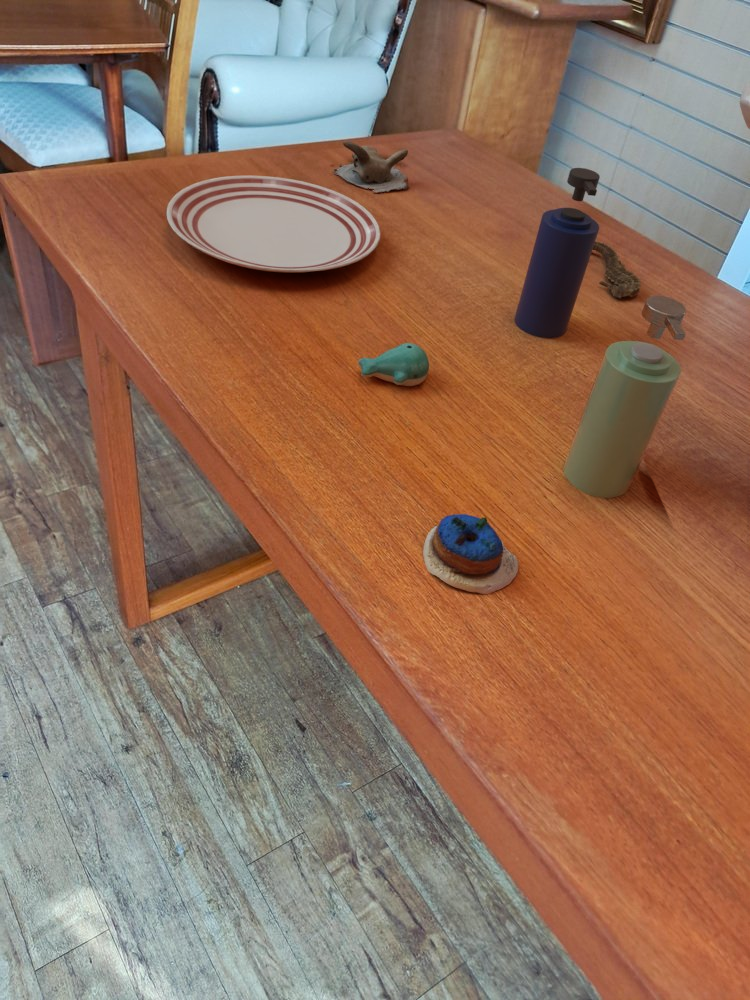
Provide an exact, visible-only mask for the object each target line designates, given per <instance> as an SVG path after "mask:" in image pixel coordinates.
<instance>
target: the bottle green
mask: <svg viewBox="0 0 750 1000" xmlns="http://www.w3.org/2000/svg"><path fill="white" fill-rule="evenodd" d="M681 369H682V368H681V366H680V364H679V362H678V361H677V359H675V357H674V356H673V355H671V354H670V353H668V352H667V351H666V350H664V349H663V348H661V347H659V346H657V345H655V344H653V343H649V342H645V341H640V340H620V341H616V342H613V343H611V344H610V345H609V346H608V347H607V348H606V350H605V352H604V355H603V358H602V360H601V363H600V366H599V370H598V372H597V373H596V377H595V380H594V382H593V385H592V388H591V390H590V392H589V393H590V394H589V395H588V399H587V401H586V404H585V407H584V409H583V412H582V414H581V418H580V420H579V423H578V426H577V428H576V431H575V434H574V436H573V438H572V441H571V444H570V447H569V450H568V453H567V455H566V458H565V460H564V463H563V466H562V467H563V468H562V469H563V474H564V477H565V478H566V480H567V481H568V482H569V483H570V484H571V485H572V486H573V487H574V488H576V489H577V490H578V491H580V492H582V493H584V494H586V495H589V496H592V497H595V498H600V499H614V498H619V497H621V496H623V495H624V494H626V493H627V492H628V490H629V489H630V486H631V484H632V482H633V480H634V477H635V475H636V472H637V471H638V468H639V466H640V464H641V462H642V460H643V458H644V455H645V453H646V451H647V450H648V447H649V445H650V442H651V440H652V438H653V436H654V433H655V431H656V429H657V427H658V424H659V422H660V420H661V418H662V416H663V414H664V411H665V410H666V407H667V404H668V403H669V400H670V398H671V396H672V393H673V392H674V389H675V387H676V385H677V383H678V380H679V378H680V376H681V374H682V373H681V372H682V370H681Z"/></svg>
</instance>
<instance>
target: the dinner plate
mask: <svg viewBox="0 0 750 1000" xmlns="http://www.w3.org/2000/svg"><path fill="white" fill-rule="evenodd" d="M166 218H167V222H168V224H169V226H170V228H171V229H172V231H173V232H174V233H175V234H176V235H177V236H178V237H179V238H180V239H182V240H183V241H184V242H185V243H187V244H188V245H190V246H191V247H193V248H195V249H196V250H198V251H199V252H202V253H204V254H206V255H208V256H210V257H212V258H214V259H217V260H220V261H223V262H225V263H229V264H231V265H235V266H239V267H242V268H247V269H251V270H257V271H264V272H275V273H309V272H321V271H327V270H334V269H338V268H339V269H340V268H342V267H346V266H350V265H352V264H354V263H357V262H359V261H361V260H363V259H365V258H366V257H368V256H369V255H371V254H372V253H373V251H374V250H376V248H377V247H378V245H379V243H380V240H381V229H380V226H379V223H378V221H377V220H376V218H375V217H374V216H373V214H372V213H370V211H369V210H368V209H366V208H365V207H364V206H363V205H362V204H360V203H358V202H357V201H356V200H354V199H352V198H350V197H349V196H346V195H344V194H342V193H339V192H338V191H336V190H333V189H330V188H327V187H325V186H321V185H318V184H315V183H310V182H307V181H304V180H303V181H302V180H297V179H292V178H285V177H280V176H279V177H278V176H268V175H267V176H266V175H227V176H219V177H214V178H209V179H205V180H201V181H198V182H195V183H193V184H190V185H188V186H186V187H184V188H182V189H181V190H180V191H178V192H176V194H175V195H174V196H173V197H172V198H171V199H170V201H169V202H168V204H167V207H166Z"/></svg>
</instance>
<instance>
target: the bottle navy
mask: <svg viewBox="0 0 750 1000" xmlns="http://www.w3.org/2000/svg"><path fill="white" fill-rule="evenodd" d="M599 230H600V224H599V223H598V222H597V221H596V220H595V219H594V218H592V217H591V216H590V215H589V214H588V213H586V212H584V211H582V210H581V209H578V208H575V207H559V208H558V207H557V208H555V209H550V210H546V211H545V212H543V213H542V216H541V219H540V223H539V227H538V229H537V232H536V233H537V234H536V238H535V240H534V241H535V242H534V245H533V249H532V252H531V256H530V260H529V264H528V267H527V269H526V274H525V277H524V281H523V286H522V290H521V293H520V297H519V299H518V304H517V308H516V311H515V316H514V323H515V325H516V326H517V327H518V329H520V330H521V331H522V332H524V333H526V334H529V335H530V336H534V337H536V338H541V339H556V338H557V339H558V338H561V337H562V336H564V335H565V334H566V332H567V329H568V326H569V323H570V321H571V318H572V315H573V311H574V309H575V305H576V302H577V298H578V296H579V293H580V290H581V286H582V284H583V280H584V277H585V273H586V271H587V268H588V265H589V261H590V259H591V255H592V252H593V250H592V249H593V246H594V243H595V242H596V239H597V237H598V234H599Z"/></svg>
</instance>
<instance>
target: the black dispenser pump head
mask: <svg viewBox="0 0 750 1000" xmlns="http://www.w3.org/2000/svg"><path fill="white" fill-rule="evenodd" d="M600 178H601V176H600V174H599V173H598V172H596V171H594V170H591V169H589V168H584V167H573V168H571V169H570V170H569V173H568V177H567V180H566V182H567V184H568V185H569V186H570V187H572V188H574V190H573V192H572V197H571V199H572V200H573V201H576V202H583V201H584V198H585V195H586V194H587V195H588V196H593V197H596V195H597V192H598V190H597V188H598V184H599V181H600Z"/></svg>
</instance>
